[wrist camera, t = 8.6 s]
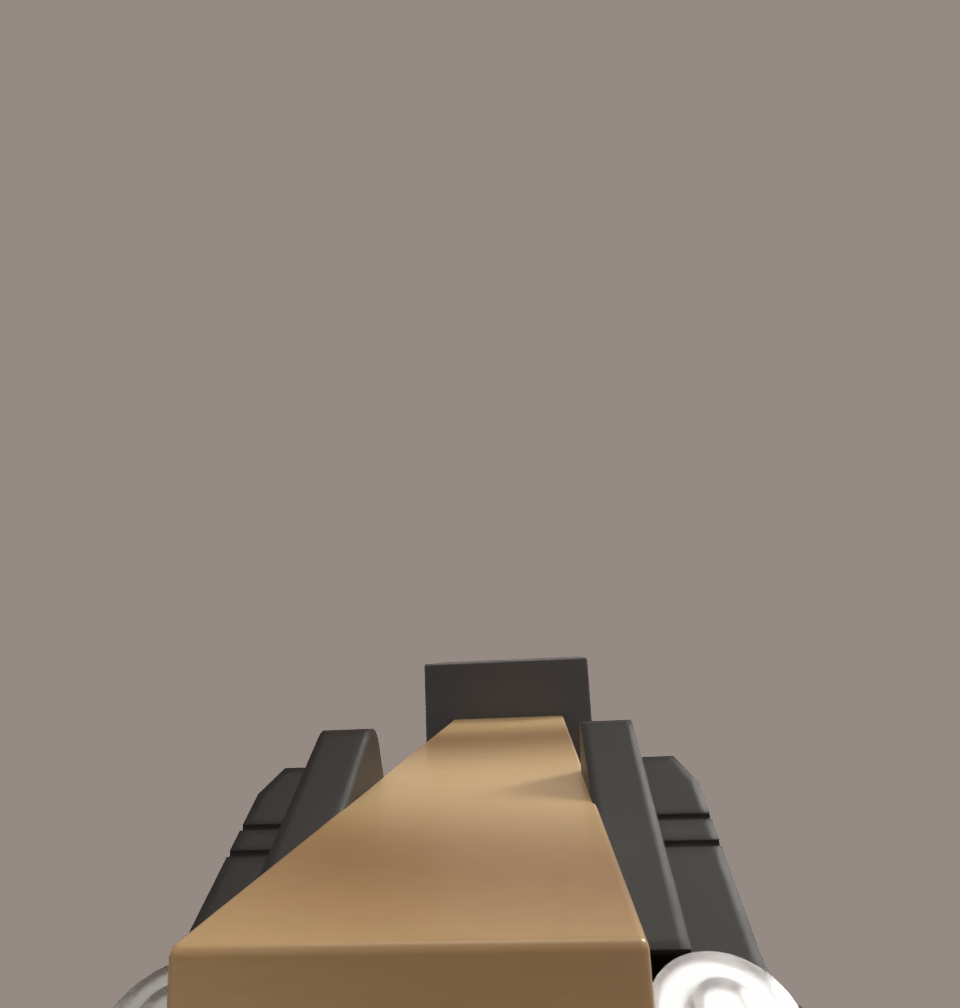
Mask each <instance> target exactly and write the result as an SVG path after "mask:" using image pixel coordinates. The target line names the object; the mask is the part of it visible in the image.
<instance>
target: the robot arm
mask: <svg viewBox="0 0 960 1008" xmlns="http://www.w3.org/2000/svg"><path fill="white" fill-rule="evenodd" d="M579 732H580V758H581V772H582V775H583V778H584V781H585V784H586V786H587V789H588V792H589V795H590V798H591V800H592V803H594V804H596V807H597V809H598V811H599V814H600V817H601V819H602V822H603V825H604V827H605V830H606V833H607V835H608V838H609V841H610V843H611V846H612V848H613V851H614V854H615V856H616V859H617V862H618V864H619V867H620V870H621V872H622V875H623V878H624V880H625V883H626V886H627V888H628V891H629V894H630V896H631V899H632V902H633V904H634V907H635V910H636V912H637V915H638V918H639V920H640V923H641V926H642V928H643V931H644V934H645V936H646V939H647V942H648V944H649V947H650V958H651V970H652V981H653V993H654V1005H655V1008H802V1007H801V1006H799V1005H798V1004H797V1003H796V1002H795V1001H794V1000H793V999H792V997H791V996H790V994H789V993H788V992H787V991H786V990H785V989H784V987H783V986H782V985H781V984H780V983H779V982H778V981H777V980H775V979H774V978H773V977H772V975H771V973H770V972H769V970H768V969H767V967H766V965H765V963H764V961H763V959H762V956H761V954H760V952H759V949H758V946H757V943H756V941H755V938H754V935H753V932H752V930H751V927H750V924H749V921H748V919H747V916H746V913H745V910H744V907H743V905H742V902H741V899H740V896H739V894H738V891H737V888H736V886H735V883H734V880H733V877H732V874H731V871H730V869H729V866H728V863H727V860H726V858H725V855H724V852H723V849H722V847H721V846H720V844H719V838H718V836H717V833H716V830H715V827H714V824H713V822H712V820H711V819H710V815H709V811H708V808H707V805H706V802H705V799H704V797H703V794H702V791H701V788H700V786H699V783H698V781H697V780H696V779H695V778H694V777H693V776H692V775H691V774H690V773H689V772H688V771H687V770H686V769H685V768H684V767H683V766H682V765H681V764H680V763H679V762H678V760H677V759H675V757H673V756H663V757H641V754H640V750H639V747H638V743H637V739H636V735H635V731H634V727H633V724H632V722H631V720H614V721H586V722H580V725H579ZM382 778H384V777H383V770H382V763H381V757H380V750H379V743H378V738H377V734H376V732H375V730H374V729H356V730H332V731H331V730H328V731H323V732H322V733H321V734H320V736H319V738H318V740H317V742H316V745H315V747H314V749H313V751H312V754H311V756H310V758H309V761H308V763H307V766H306V768H285V769H284V770H283V771H282V772H281V773H280V774H279V775H278V776H277V777H276V778H275V779H274V780H273V781H272V782H270V783H269V784H268V785H267V786H266V787H265V788H264V789H263V790H262V791H261V792H260V793H259V794H258V796H257V798H256V800H255V802H254V804H253V806H252V808H251V810H250V812H249V814H248V816H247V818H246V820H245V822H244V824H243V831H240V832H239V834H238V836H237V838H236V840H235V842H234V844H233V846H232V848H231V850H230V857H227V858H226V860H225V862H224V864H223V866H222V868H221V870H220V872H219V874H218V876H217V878H216V880H215V882H214V884H213V886H212V888H211V890H210V892H209V894H208V896H207V898H206V900H205V902H204V904H203V906H202V908H201V910H200V912H199V914H198V916H197V918H196V920H195V922H194V924H193V926H192V928H191V930H190V932H191V931H192V930H194V929H195V928H196V927H197V926H199V925H200V924H201V923H202V922H203V921H205V920H206V919H207V918H208V917H210V916H211V915H212V914H213V913H215V912H216V911H217V910H218V909H220V908H221V907H222V906H223V905H225V904H226V903H227V902H228V901H230V900H231V899H232V898H233V897H235V896H236V895H237V894H238V893H240V892H241V891H242V890H243V889H245V888H246V887H247V886H248V885H250V884H251V883H252V882H253V881H255V880H256V879H257V878H258V877H260V876H261V875H262V874H263V873H264V872H266V871H267V870H268V869H269V868H271V867H272V866H273V865H274V864H276V863H277V862H278V861H279V860H281V859H282V858H283V857H284V856H286V855H287V854H288V853H289V852H291V851H292V850H293V849H294V848H296V847H297V846H298V845H299V844H301V843H302V842H303V841H304V840H306V839H307V838H308V837H309V836H311V835H312V834H313V833H314V832H316V831H317V830H318V829H319V828H320V827H322V826H323V825H324V824H325V823H327V822H328V821H329V820H330V819H332V818H333V817H334V816H335V815H337V814H338V813H339V812H341V811H343V810H344V809H345V808H347V807H348V806H349V805H350V804H352V803H353V802H354V801H355V800H356V799H358V798H359V797H360V796H361V795H363V794H364V793H365V792H366V791H368V790H369V789H370V788H371V787H372V786H374V785H375V784H376V783H377V782H379V781H380V780H381V779H382ZM190 932H189V933H190ZM168 972H169V965H168V966H165V967H163V968H161V969H160V970H157V971H155V972H154V973H152V974H151V975H149V976H147V977H146V978H144V979H143V980H141V981H140V982H139V983H138V984H136V985H135V986H134V987H133V988H131V989H130V990H129V991H128V992H127V993H126V994H125V995H124V996H123V997H122V998H121V999H120V1000H119V1001H118V1002H117V1004H116V1005H115V1006H114V1007H113V1008H167V994H168Z"/></svg>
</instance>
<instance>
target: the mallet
mask: <svg viewBox="0 0 960 1008" xmlns="http://www.w3.org/2000/svg"><path fill="white" fill-rule="evenodd" d="M425 695H426V696H425V698H426V699H425V700H426V737H427V742H426V743H425V744H424V745H423V746H421V747H420V748H419V749H418V750H416V751H415V752H414V753H413V754H411V755H410V756H409V757H408V758H406V759H405V760H404V761H403V762H401V763H400V764H399V765H398V766H397V767H395V768H394V769H393V770H391V771H390V772H389V773H388V774H386V775H385V776H384V778H382V779H381V780H380V781H379V782H377V783H376V784H375V785H374V786H372V787H371V788H370V789H369V790H368V791H366V792H365V793H364V794H363V795H361V796H360V797H359V798H358V799H356V800H355V801H354V802H353V803H352V804H350V805H349V806H348V807H347V808H345V809H344V810H343V811H341V812H339V813H338V814H337V815H335V816H334V817H333V818H332V819H330V820H329V821H328V822H327V823H325V824H324V825H323V826H322V827H320V828H319V829H318V830H317V831H316V832H314V833H313V834H312V835H311V836H309V837H308V838H307V839H306V840H304V841H303V842H302V843H301V844H299V845H298V846H297V847H296V848H294V849H293V850H292V851H291V852H289V853H288V854H287V855H286V856H284V857H283V858H282V859H281V860H279V861H278V862H277V863H276V864H274V865H273V866H272V867H271V868H269V869H268V870H267V871H266V872H264V873H263V874H262V875H261V876H260V877H258V878H257V879H256V880H255V881H253V882H252V883H251V884H250V885H248V886H247V887H246V888H245V889H243V890H242V891H241V892H240V893H238V894H237V895H236V896H235V897H233V898H232V899H231V900H230V901H228V902H227V903H226V904H225V905H223V906H222V907H221V908H220V909H218V910H217V911H216V912H215V913H213V914H212V915H211V916H210V917H208V918H207V919H206V920H205V921H203V922H202V923H201V924H200V925H199V926H197V927H196V928H195V929H194V930H192V931H191V932H190V933H189V934H187V935H186V936H185V937H184V938H182V939H181V940H180V941H179V942H177V943H176V944H175V945H174V946H173V948H172V950H171V953H170V956H169V972H168V994H167V1008H655V1005H654V993H653V981H652V970H651V958H650V947H649V944H648V942H647V939H646V936H645V934H644V931H643V928H642V926H641V923H640V920H639V918H638V915H637V912H636V910H635V907H634V904H633V902H632V899H631V896H630V894H629V891H628V888H627V886H626V883H625V880H624V878H623V875H622V872H621V870H620V867H619V864H618V862H617V859H616V856H615V854H614V851H613V848H612V846H611V843H610V841H609V838H608V835H607V833H606V830H605V827H604V825H603V822H602V819H601V817H600V814H599V811H598V809H597V807H596V804H594V803H592V800H591V798H590V795H589V792H588V789H587V786H586V784H585V781H584V778H583V775H582V772H581V758H580V732H579V725H580V722H586V721H592V720H591V706H590V693H589V679H588V666H587V658H585V657H557V658H535V659H513V660H492V661H491V660H490V661H467V662H445V663H436V664H427V665H425Z"/></svg>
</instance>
